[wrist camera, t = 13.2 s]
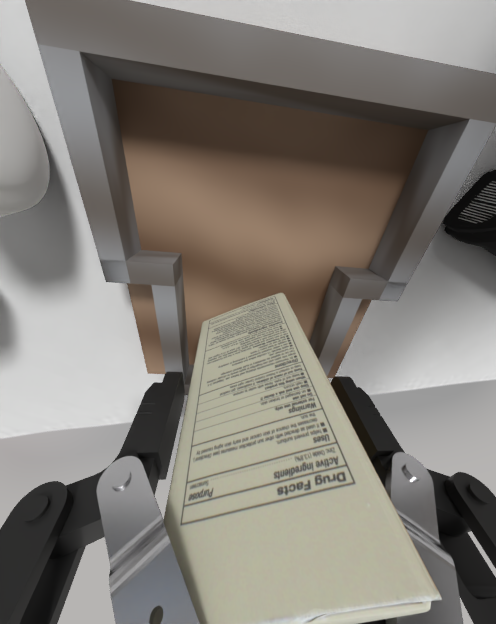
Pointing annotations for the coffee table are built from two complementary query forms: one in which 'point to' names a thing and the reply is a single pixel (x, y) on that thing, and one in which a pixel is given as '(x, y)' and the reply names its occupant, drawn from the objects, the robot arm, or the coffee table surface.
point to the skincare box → (281, 488)
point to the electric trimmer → (476, 215)
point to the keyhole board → (254, 165)
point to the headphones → (19, 152)
